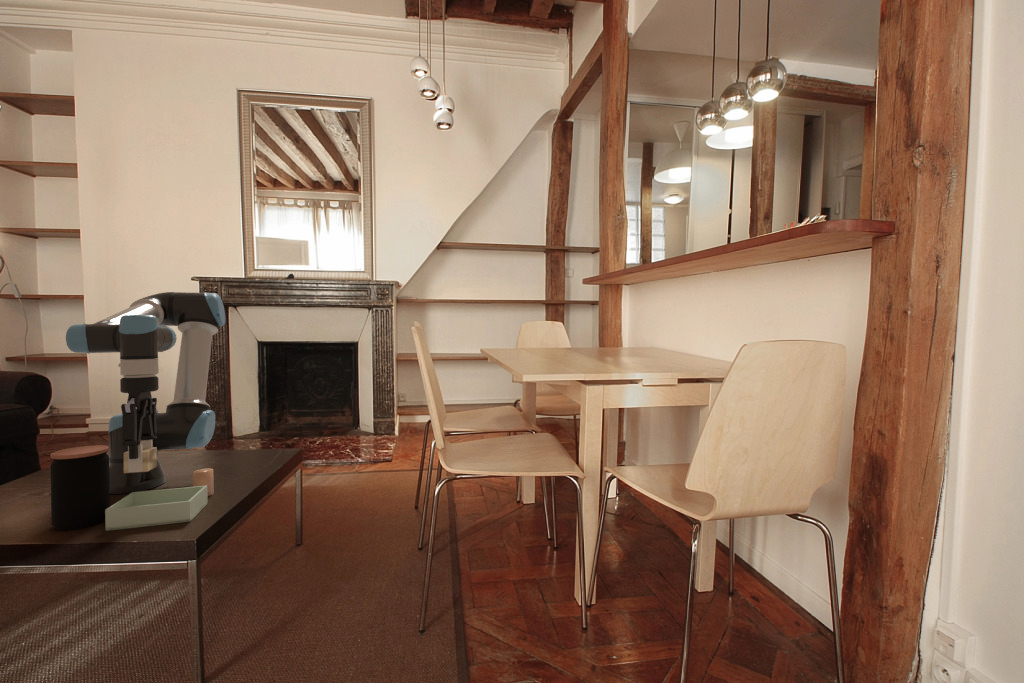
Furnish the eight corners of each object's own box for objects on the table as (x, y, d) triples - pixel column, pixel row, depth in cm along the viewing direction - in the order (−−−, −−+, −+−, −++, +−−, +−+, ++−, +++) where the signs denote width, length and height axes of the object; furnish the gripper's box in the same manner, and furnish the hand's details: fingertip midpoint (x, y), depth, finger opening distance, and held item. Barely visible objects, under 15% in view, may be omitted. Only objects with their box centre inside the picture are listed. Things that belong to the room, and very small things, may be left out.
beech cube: (133, 468, 119) (133, 448, 119) (156, 466, 120) (156, 447, 120) (123, 473, 114) (123, 452, 114) (147, 471, 115) (147, 451, 115)
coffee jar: (105, 511, 122) (104, 443, 122) (114, 521, 116) (113, 449, 115) (48, 524, 114) (47, 451, 114) (54, 535, 107) (53, 457, 107)
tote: (132, 511, 122) (132, 492, 122) (207, 503, 127) (207, 485, 127) (105, 530, 110) (105, 509, 110) (190, 521, 115) (190, 501, 115)
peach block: (196, 493, 136) (196, 469, 136) (215, 491, 138) (215, 467, 138) (190, 498, 132) (189, 474, 132) (210, 496, 133) (210, 472, 133)
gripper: (138, 374, 125) (139, 460, 125) (102, 379, 107) (103, 480, 107) (171, 373, 127) (172, 458, 127) (140, 378, 110) (142, 476, 110)
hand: (140, 468), depth 117 cm, fingers closed on beech cube, 5 cm apart
